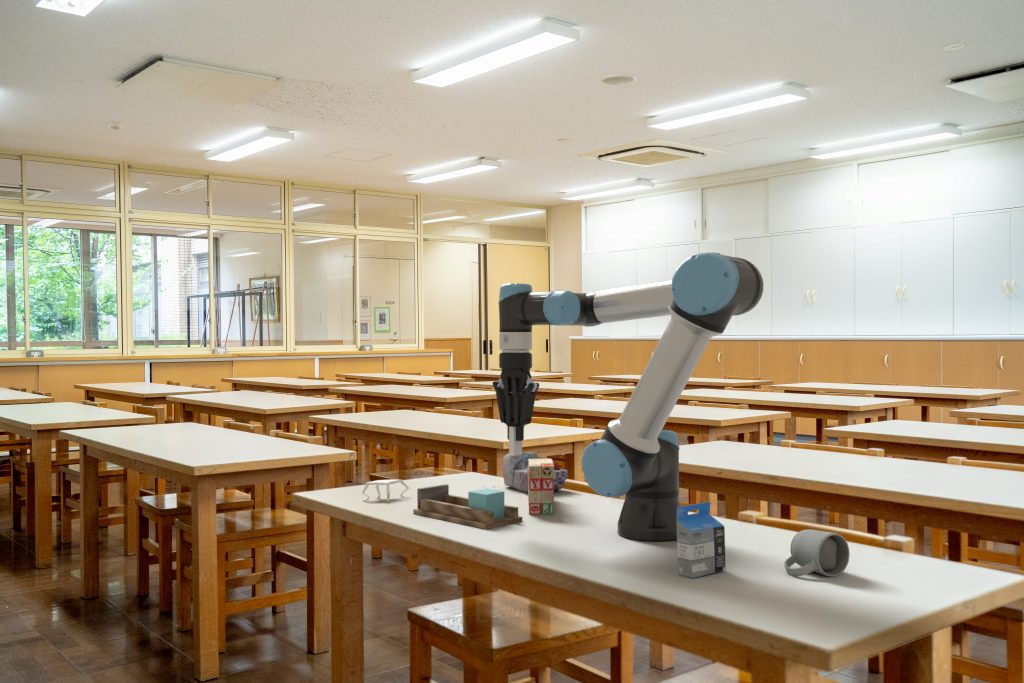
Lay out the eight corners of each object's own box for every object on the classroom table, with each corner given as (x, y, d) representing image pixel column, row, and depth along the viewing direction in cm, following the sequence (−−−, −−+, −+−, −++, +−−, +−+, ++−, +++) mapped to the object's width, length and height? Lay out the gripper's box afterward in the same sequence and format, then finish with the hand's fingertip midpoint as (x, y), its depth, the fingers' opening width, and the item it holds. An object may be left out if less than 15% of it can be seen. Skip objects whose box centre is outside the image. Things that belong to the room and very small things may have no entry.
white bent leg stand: (378, 503, 224) (378, 485, 224) (360, 499, 230) (360, 481, 230) (415, 498, 232) (415, 480, 232) (396, 494, 238) (396, 476, 238)
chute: (522, 521, 200) (522, 495, 200) (485, 529, 192) (485, 502, 192) (449, 506, 218) (449, 483, 218) (413, 513, 210) (413, 489, 210)
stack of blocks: (527, 499, 229) (527, 453, 229) (550, 499, 229) (550, 453, 229) (528, 515, 208) (528, 465, 208) (554, 515, 208) (554, 465, 208)
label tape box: (692, 579, 150) (692, 510, 150) (675, 574, 153) (675, 506, 153) (726, 571, 155) (726, 504, 155) (709, 566, 158) (709, 501, 158)
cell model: (525, 447, 255) (574, 454, 241) (524, 482, 256) (573, 492, 241) (493, 450, 246) (542, 458, 232) (492, 487, 247) (541, 498, 232)
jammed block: (504, 516, 200) (504, 491, 200) (486, 520, 196) (485, 494, 196) (486, 513, 204) (486, 488, 204) (468, 517, 200) (468, 491, 200)
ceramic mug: (817, 563, 160) (816, 523, 160) (851, 574, 153) (850, 531, 153) (773, 571, 156) (772, 529, 156) (806, 582, 148) (805, 538, 148)
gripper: (484, 351, 195) (483, 453, 195) (524, 352, 186) (524, 459, 186) (507, 351, 200) (507, 450, 200) (547, 351, 191) (547, 456, 191)
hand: (515, 454), depth 193 cm, fingers closed
